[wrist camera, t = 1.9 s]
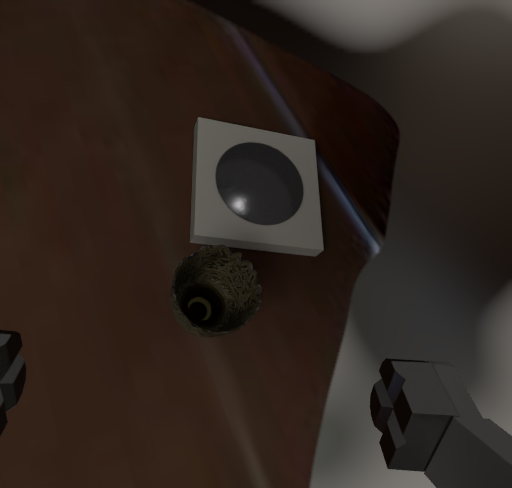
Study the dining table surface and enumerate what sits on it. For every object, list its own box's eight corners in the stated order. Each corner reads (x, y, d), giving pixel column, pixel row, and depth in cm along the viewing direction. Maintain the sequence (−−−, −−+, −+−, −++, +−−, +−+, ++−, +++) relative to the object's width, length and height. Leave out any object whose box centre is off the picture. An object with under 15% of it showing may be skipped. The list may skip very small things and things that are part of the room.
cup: (186, 366, 42) (207, 351, 35) (143, 298, 43) (155, 271, 36) (249, 322, 46) (279, 301, 39) (207, 261, 46) (230, 230, 40)
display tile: (194, 127, 52) (198, 116, 50) (307, 149, 56) (315, 139, 54) (190, 242, 47) (194, 234, 45) (315, 256, 51) (324, 249, 49)
